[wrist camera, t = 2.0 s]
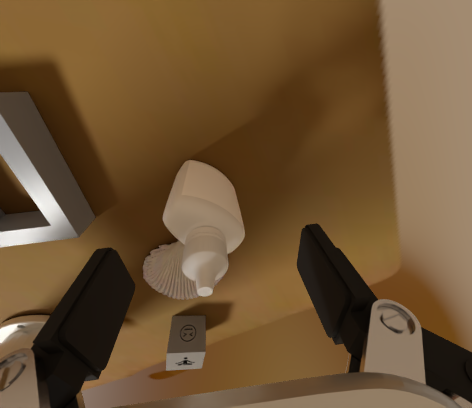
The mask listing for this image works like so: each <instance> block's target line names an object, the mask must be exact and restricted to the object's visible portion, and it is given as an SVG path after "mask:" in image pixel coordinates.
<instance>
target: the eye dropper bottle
mask: <svg viewBox="0 0 472 408" xmlns="http://www.w3.org/2000/svg"><path fill="white" fill-rule="evenodd" d="M163 222H164V224H165V226H166V227H167V229H168V230H169V231H170V232H171V233H172V234H173V235H174V236H175V237H176V238H177V239H178V240H179V241H180V242H181V243H183V244H184V245H185V246H184V252H183V259H182V271H183V273H184V274H185V276H186V277H188V278H189V279H191V280H193V281H196V287H197V293H198V295H200V296H209V295H211V294H212V292H213V287H214V282H215V280H217V279H219V278H221V277H222V276H223V275H224V274H225V273H226V272H227V270H228V266H229V263H228V254H229V253H231V252H233V251H234V250H235V249H236V248H237V247H238V246H239V245H240V244H241V242H242V241H243V239H244V237H245V230H244V225H243V221H242V216H241V212H240V208H239V204H238V200H237V196H236V192H235V189H234V187H233V185H232V183H231V182H230V181H229V180H228V178H227V177H226V176H225V175H224V174H223V173H221V172H220V171H219V170H217V169H216V168H214V167H212V166H210V165H208V164H206V163H203V162H199V161H195V160H188V161H186V162H185V163H184V164H183V165H182V167H181V168H180V170H179V172H178V173H177V175H176V178H175V181H174V184H173V186H172V189H171V192H170V195H169V198H168V201H167V204H166V207H165V210H164V214H163Z"/></svg>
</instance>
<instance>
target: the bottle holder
mask: <svg viewBox="0 0 472 408" xmlns="http://www.w3.org/2000/svg"><path fill="white" fill-rule="evenodd" d="M0 154H1V155H2V157H3V158H4V160H5V161H6V162H7V164H8V165H9V167H10V168H11V169H12V171H13V172H14V174H15V175H16V177H17V178H18V179H19V181H20V182H21V184H22V185H23V187H24V188H25V189H26V191H27V192H28V194H29V195H30V196H31V198H32V199H33V201H34V202H35V204H36V205H37V206H38V208H39V209H40V211H32V212H24V213H15V214H5V213H4V212H3V211H2V210H1V208H0V247H6V246H14V245H22V244H30V243H38V242H46V241H54V240H62V239H70V238H78V237H80V235H81V234H82V233H83V232H84V231H85V230H86V228H87V227H88V226H89V225H90V224H91V223H92V221H93V220H94V219H95V218H96V217H95V215H94V214H93V212H92V210H91V208H90V206H89V204H88V202H87V201H86V199H85V197H84V195H83V193H82V191H81V190H80V188H79V186H78V184H77V182H76V180H75V178H74V177H73V175H72V173H71V171H70V169H69V167H68V165H67V164H66V162H65V160H64V158H63V156H62V154H61V153H60V151H59V149H58V147H57V145H56V143H55V141H54V140H53V138H52V136H51V134H50V132H49V130H48V128H47V127H46V125H45V123H44V121H43V119H42V117H41V116H40V114H39V112H38V110H37V108H36V106H35V104H34V103H33V101H32V99H31V97H30V95H29V93H28V92H0Z"/></svg>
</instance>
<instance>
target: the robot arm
mask: <svg viewBox="0 0 472 408" xmlns="http://www.w3.org/2000/svg"><path fill="white" fill-rule="evenodd" d="M297 268H298V271H299V273H300V276H301V278H302V280H303V282H304V285H305V287H306V289H307V291H308V294H309V296H310V298H311V300H312V303H313V305H314V307H315V309H316V311H317V314H318V316H319V318H320V320H321V323H322V325H323V327H324V329H325V331H326V334H327V335H328V337H330V338H331V337H332V339H333V341H334V343H335V344H336V345H337V344H344V345H345V347H346V349H347V351H348V352H349V358H348V363H347V369H346V373H343V374H336V375H327V376H319V377H311V378H303V379H297V380H290V381H283V382H276V383H270V384H263V385H256V386H249V387H243V388H236V389H230V390H223V391H216V392H210V393H203V394H197V395H190V396H183V397H177V398H170V399H164V400H158V401H151V402H145V403H138V404H133V405H126V406H120V407H113V408H472V352H470V351H468V350H466V349H464V348H462V347H460V346H458V345H456V344H454V343H452V342H450V341H448V340H446V339H444V338H442V337H440V336H438V335H436V334H434V333H432V332H430V331H428V330H426V329H424V328H422V327H421V326H420V323H419V322H418V320H417V318H416V317H415V316H414V315H413V314H412V313H411V312H410V311H409V310H408V309H406V308H405V307H404V306H402V305H401V304H399V303H397V302H394V301H391V300H386V299H381V300H378V299H377V298H376V296H375V295H374V294H373V292H372V291H371V290H370V288H369V287H368V286H367V284H366V283H365V282H364V280H363V279H362V278H361V276H360V275H359V274H358V272H357V271H356V270H355V268H354V267H353V266H352V264H351V263H350V262H349V260H348V259H347V258H346V256H345V255H344V254H343V252H342V251H341V250H340V249H339V248H336V247H335V246H334V245H333V243H332V242H331V240H330V239H329V238H328V236H327V235H326V234H325V232H324V231H323V230H322V228H321V227H320V225H319V224H310V225H306V226H305V228H302V232H301V239H300V246H299V252H298V259H297ZM134 291H135V284H134V282H133V280H132V278H131V276H130V274H129V273H128V271H127V269H126V267H125V265H124V264H123V262H122V260H121V258H120V256H119V254H118V253H117V251H116V250H113V249H112V248H102V249H97V250H96V251H95V252H94V253H93V255H92V256H91V258H90V259H89V261H88V262H87V264H86V265H85V266H84V268H83V269H82V271H81V272H80V274H79V275H78V277H77V278H76V280H75V281H74V282H73V284H72V285H71V287H70V288H69V290H68V291H67V293H66V294H65V295H64V297H63V298H62V300H61V301H60V303H59V304H58V306H57V307H56V308H55V310H54V311H53V313H52V314H51V315H28V316H21V317H17V318H13V319H10V320H7V321H5V322H3V323H2V324H0V408H85V405H84V401H83V396H82V392H81V388H82V385H83V383H84V381H90V380H97V379H99V376H100V374H101V371H102V370H104V369H105V367H106V366H107V363H108V361H109V358H110V355H111V353H112V350H113V347H114V345H115V342H116V339H117V337H118V334H119V331H120V329H121V326H122V323H123V321H124V318H125V315H126V312H127V310H128V307H129V304H130V302H131V299H132V296H133V294H134Z"/></svg>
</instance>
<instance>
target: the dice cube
mask: <svg viewBox="0 0 472 408" xmlns="http://www.w3.org/2000/svg"><path fill="white" fill-rule="evenodd" d="M205 345H206V316H173V317H172V323H171V330H170V336H169V342H168V349H167V361H166V370H182V369H198V368H202V364H203V360H204V356H205Z"/></svg>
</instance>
